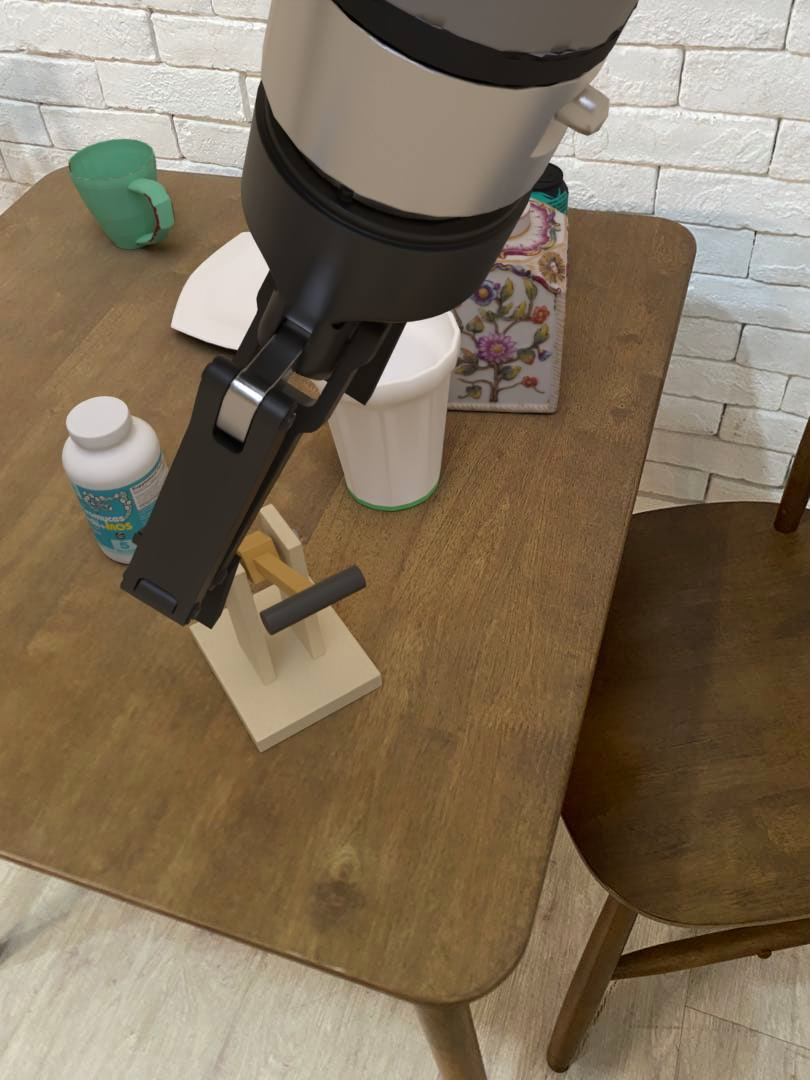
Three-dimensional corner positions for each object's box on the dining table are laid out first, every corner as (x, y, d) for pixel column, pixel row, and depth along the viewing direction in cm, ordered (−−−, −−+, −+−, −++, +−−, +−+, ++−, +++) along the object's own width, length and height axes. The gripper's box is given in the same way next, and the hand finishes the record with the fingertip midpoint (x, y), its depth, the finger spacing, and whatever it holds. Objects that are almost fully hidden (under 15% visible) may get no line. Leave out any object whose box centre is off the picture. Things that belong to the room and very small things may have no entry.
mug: (78, 242, 113) (49, 162, 106) (144, 209, 118) (122, 130, 110) (148, 285, 106) (123, 203, 99) (216, 248, 110) (197, 167, 103)
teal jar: (512, 256, 106) (515, 152, 97) (571, 268, 103) (579, 163, 94) (487, 289, 101) (488, 184, 93) (548, 303, 99) (555, 196, 90)
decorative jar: (561, 340, 95) (574, 169, 81) (559, 416, 87) (573, 241, 74) (443, 337, 96) (437, 169, 83) (431, 412, 89) (422, 240, 75)
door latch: (382, 685, 69) (365, 563, 58) (260, 753, 65) (219, 637, 55) (306, 580, 76) (279, 455, 65) (193, 637, 73) (145, 515, 62)
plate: (147, 351, 98) (142, 335, 96) (235, 235, 112) (232, 220, 111) (355, 381, 92) (353, 365, 91) (420, 255, 107) (419, 239, 105)
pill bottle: (82, 546, 80) (24, 426, 70) (144, 493, 84) (98, 372, 73) (144, 582, 77) (93, 462, 66) (205, 525, 80) (166, 404, 70)
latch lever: (372, 597, 53) (358, 559, 52) (277, 646, 51) (260, 608, 50) (296, 549, 64) (284, 517, 63) (217, 587, 62) (203, 556, 61)
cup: (482, 446, 85) (482, 302, 74) (433, 544, 77) (425, 400, 66) (357, 418, 89) (339, 277, 77) (299, 509, 81) (269, 367, 70)
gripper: (281, 574, 18) (189, 770, 36) (681, -28, 30) (459, 350, 48) (-60, 363, 18) (23, 669, 36) (482, -159, 30) (335, 272, 48)
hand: (272, 487), depth 42 cm, fingers open, 13 cm apart
